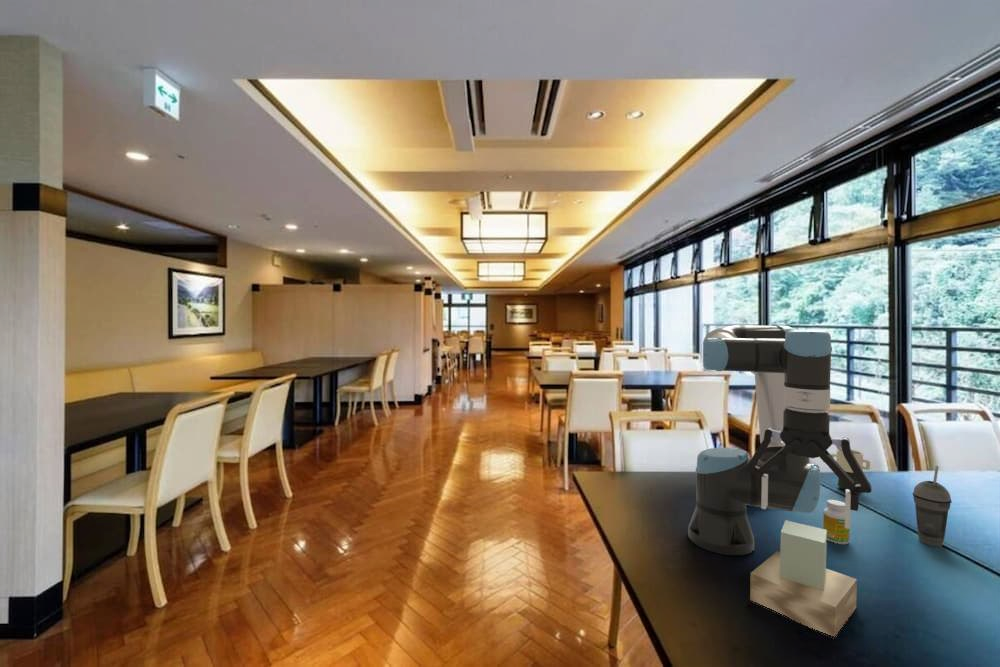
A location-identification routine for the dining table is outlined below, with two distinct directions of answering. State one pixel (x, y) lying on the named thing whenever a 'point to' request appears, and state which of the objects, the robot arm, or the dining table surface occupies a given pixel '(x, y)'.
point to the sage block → (803, 554)
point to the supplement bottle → (835, 522)
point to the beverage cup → (931, 511)
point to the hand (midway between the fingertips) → (804, 516)
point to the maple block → (805, 597)
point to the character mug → (845, 466)
